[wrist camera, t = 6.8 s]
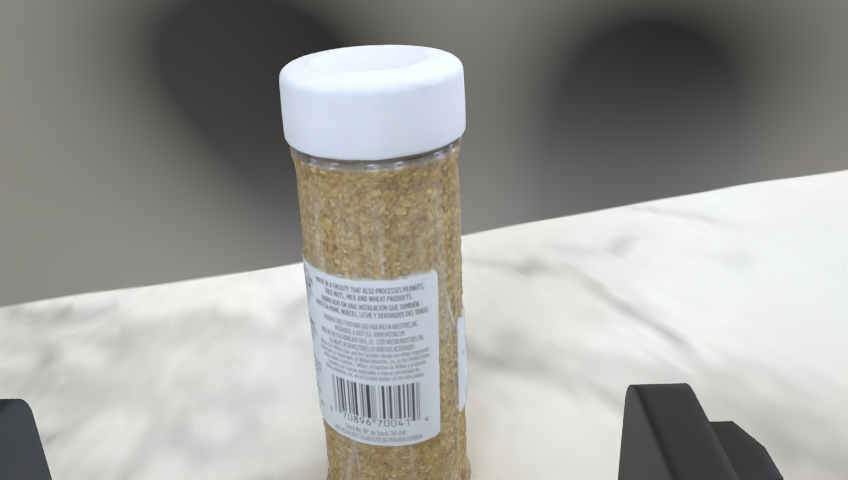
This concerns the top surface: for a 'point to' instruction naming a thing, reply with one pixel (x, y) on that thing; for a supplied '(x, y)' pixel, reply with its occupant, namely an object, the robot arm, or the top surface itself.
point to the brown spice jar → (383, 254)
